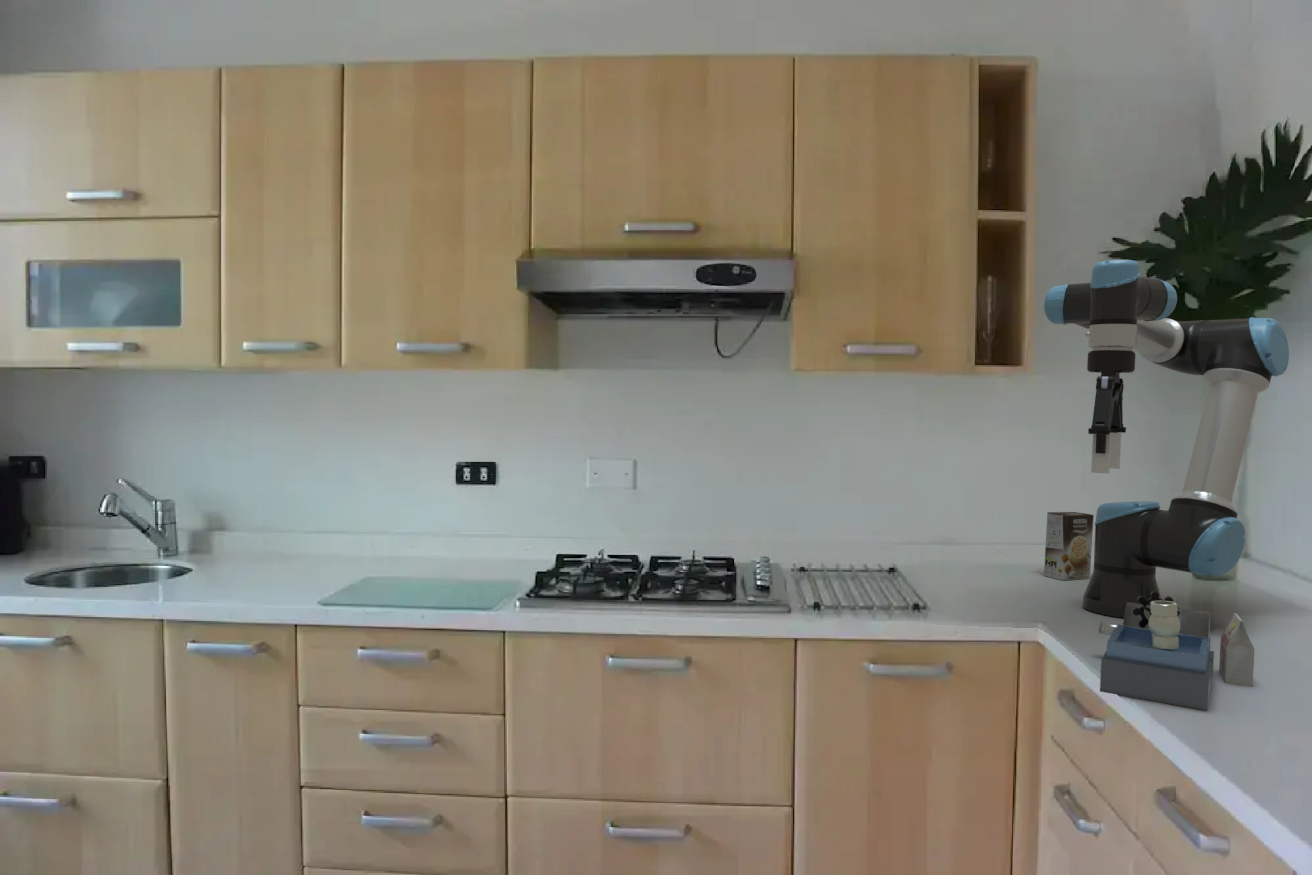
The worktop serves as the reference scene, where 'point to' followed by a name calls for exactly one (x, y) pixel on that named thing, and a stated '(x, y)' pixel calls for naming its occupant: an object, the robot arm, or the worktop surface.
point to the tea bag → (1236, 654)
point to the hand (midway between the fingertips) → (1105, 470)
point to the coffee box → (1068, 545)
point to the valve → (1160, 620)
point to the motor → (1159, 661)
